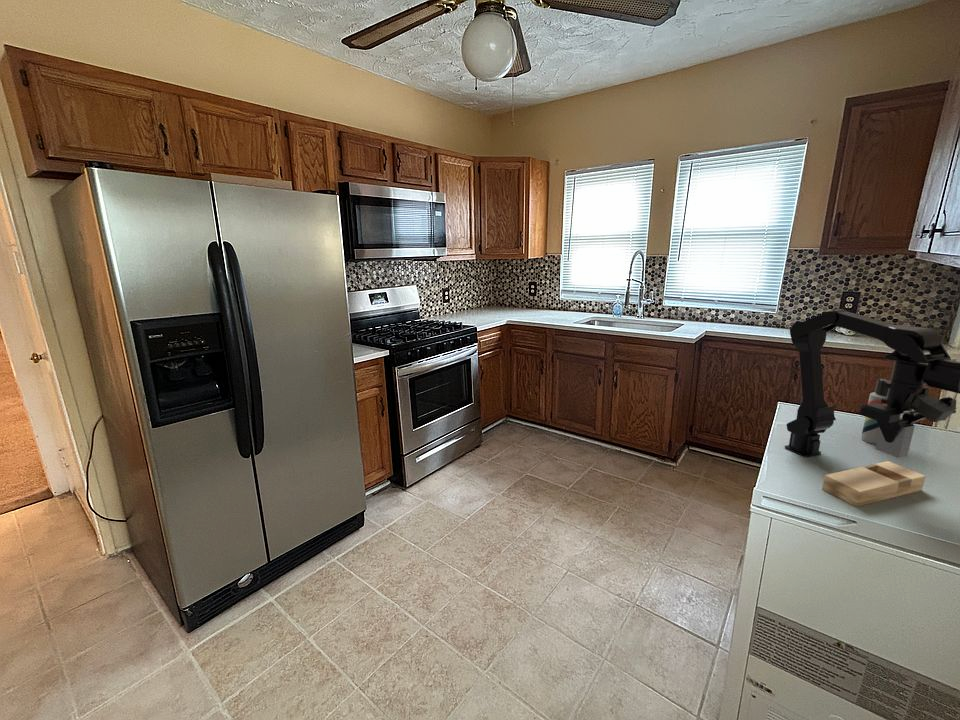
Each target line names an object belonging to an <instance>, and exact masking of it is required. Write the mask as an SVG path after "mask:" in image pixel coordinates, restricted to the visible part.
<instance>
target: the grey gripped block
mask: <svg viewBox="0 0 960 720" xmlns="http://www.w3.org/2000/svg"><path fill="white" fill-rule="evenodd" d="M915 426H916V425H911V424H908V423H902V424H900V425H899V427H898V429H897V432H896V434H895V437H894V439H893V441H892V442H891V443H889V442H886V441H885V439H884V436H883V434H882V432H881V429H879V433H878V438H877V442H876V444H875V446H874V449H875V450H877V451H880V452H882V453H884V454H887V455H890V456H892V457H895V458H898V459H899V458H904V457H908V454H909V451H910V446H911V442H912V438H913V435H914V430H915Z"/></svg>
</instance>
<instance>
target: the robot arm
mask: <svg viewBox="0 0 960 720" xmlns="http://www.w3.org/2000/svg"><path fill="white" fill-rule="evenodd" d="M838 327H839V328H842V329H845V330H848V331H851V332H854V333H858V334H860V335H864V336H866V337H870V338H873V339H875V340H877V341H878V340H879V341H880V342H882V343H883V344H884V345H886V346H887V347H888V348H889V349H892V350H894V351H893V352H891V353H889V354H886V355H884V356H883V358H884V359H885V360H889V361H894V364H893V368H892V373H891V377H890V380H891V381H890V382H887V383H885V386H884V387H888V388H889V390H888V394H887V398H883V399H882V400H881V403H885V404H887V406H885V405H882V404H878V403H871V404H868V403H867V404H864V405H861V406H860V407H859V411H858V414H859V416H862V417H864V418H865V417H868V418H871V419H874V420H876V421H877V423H878V425H879V427H880V429H881V432H882V434H883V436H884V439H885V441H886V442H889V443H891V442H892V441H893V439H894V437H895V434H896V432H897V429H898V427H899V425H900V424H902V423H908V424H911V425H914V424H915V423H917V422H918V421H921V420H925V419H926V420H927V421H929V422H932V423H938V422H942V421H944V422H945V421H946V420H947V419H948V418H949V417H950V416H951V415H953V414H956V413H957V408H958V407H957V400H956V399H955V398H953V397H951V396H945V397H942V398H939V396H937V397H936V396H935V397H934V396H932V395H930V389H929V387H930V388H934V389H938V390H942V391H947V392H951V393H956V394H960V361H957V360H951V356H950V355H949V354H948V352H947V350H946V349H945V347H944V345H943V344H942V342H941V336H940V335H939V332H938V331H937V330H935V329H933V328H929V327H922V326H921V327H920V326H913V325H912V326H910V325H900V324H892V323H890V322H889V323H888V322H886V321H881V320H878V319H874V318H871V317H868V316H864V315H860V314H857V313H854V312H850V311H848V310H846V309H844V308H842V309H841V308H838V309H831V310H828V311H825V312H823V313H822V314H820V315H819V314H818V315H817V316H814V317H811V318H809V319H806V320H802V321H796V322H794V323H793V324H792V325H791V326H790V328H789V335H790V340H791V343H792V345H793V346H794V347H795V349H796V350H797V351H798V354H799V355H798V357H799V369H800V371H799V372H800V381H801V382H800V383H801V384H800V385H801V393H802V394H801V396H802V397H801V398H802V400H801V402H800V405H799V407H798V408H797V410H796V418H795V419H794V420H791V421H790V422H788V423H786V429H787V431H788V432H790V438H789V442H788V445H784V448H785V449H787V450H789V451H791V452H794V453H795V454H798V455H801V456H802V457H805V458H806V457H809V456H815V455H820V454H821V453H822V452H821V451H820V446H821V440H820V437H821V434H823V433H824V434H825V432H826V430H828V429H830V428H831V427H832V426H834V421H836V420H837V419H836V417H835V409H836V408H835V406H834V405H830V406H829V405H828V404H827V402H826V400H825V397H824V382H823V369H822V355H821V351H822V348H823V347H824V345H825V342H826V340H827V333H829V332H831V331H833V330H835V329H836V328H838ZM926 353H927V354H926ZM925 384H926V385H927V386H925ZM914 426H915V425H914Z"/></svg>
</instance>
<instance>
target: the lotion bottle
mask: <svg viewBox="0 0 960 720" xmlns="http://www.w3.org/2000/svg"><path fill="white" fill-rule="evenodd" d="M890 381H891V379H888V378H887V379H886V378H879V379H877V381H876V385H875V390H874V392H870V394H869V398H868V402H867V404H871V403H878V404H882V405H885V406H887V404H885V403H881V400H882V399H883V398H887V394H888V390H889V388H888V387H884V386H885V383H887V382H890ZM879 429H880V427H879V425H878V423H877V421H876V420H874V419H871V418H868V417H865V416H864V421H863V426H862V429H861V430H862V431H861V436H860V439H861V440H862V441H864V442H867V443H869V444H875V445H876V442H877V438H878V433H879Z"/></svg>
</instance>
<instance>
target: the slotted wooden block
mask: <svg viewBox="0 0 960 720" xmlns="http://www.w3.org/2000/svg"><path fill="white" fill-rule="evenodd" d="M926 478H927V477H926V475H925V474H921V473H920V472H917V471H914V470H912V469H909V468H906V467H904V466H901V465H899V464H896V463H894V462H891V461H889V460H887V461H882V462H877V463H874V464H869V465H863V466H859V467H855V468H851V469H845V470H842V471H838V472H832V473H828V474H825V475H824V478H823V483H822V486H821V487H822V488H821V489H822V490H823V491H825V492H826V493H829V494H831V495H833V496H835V497H837V498H839V499H841V500H843V501H845V502H847V503H849V504H850V505H852V506H854V507H856V508H857V507H861V506H865V505H869V504H874V503H877V502H882V501H884V500H889V499H893V498H896V497H900V496H906V495H907V494H912V493H913V494H914V493H918V492H920V491H922V490H923V487H924V484H925V480H926Z"/></svg>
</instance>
